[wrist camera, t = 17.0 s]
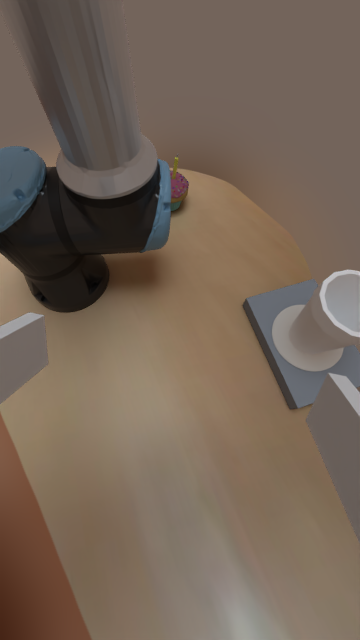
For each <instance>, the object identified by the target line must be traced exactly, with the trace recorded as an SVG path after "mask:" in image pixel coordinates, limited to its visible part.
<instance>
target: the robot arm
mask: <svg viewBox="0 0 360 640" xmlns="http://www.w3.org/2000/svg"><path fill="white" fill-rule="evenodd" d="M0 12H1V14H2V17H3V19H4V21H5V24H6V26H7V28H8V30H9V33H10V34H11V37H12V39H13V41H14V44H15V46H16V48H17V50H18V53H19V55H20V57H21V59H22V61H23V64H24V66H25V68H26V71H27V73H28V75H29V77H30V79H31V82H32V84H33V86H34V88H35V91H36V93H37V95H38V97H39V100H40V102H41V104H42V106H43V109H44V111H45V113H46V115H47V117H48V120H49V122H50V124H51V126H52V129H53V131H54V133H55V135H56V137H57V140H58V142H59V144H60V147H61V151H60V153H59V155H58V158H57V162H56V167H46V164H45V162H44V161H43V159H42V158H41V157H39V156H38V154H37V153H36V152H34V151H32V150H30V149H29V148H26V147H21V146H10V147H5V148H1V149H0V253H1V254H2V255H4V256H5V257H6V258H7V259H8V260H9V261H10V262H11V263H12V264H14V265H15V266H16V267H17V268H18V269H19V270H20V271H21V272H22V273H23V274H24V276H25V279H26V281H27V283H28V286H29V288H30V291H31V293H32V294H33V296H34V297H35V298H36V299H37V300H38V301H39V302H40V303H42V304H43V305H44V306H45V307H47V308H49V309H51V310H54V311H58V312H73V311H78V310H81V309H83V308H86V307H88V306H89V305H91V304H92V303H94V302H95V301H96V300H97V299H98V298H99V297H100V296H101V295H102V294H103V292H104V291H105V289H106V287H107V284H108V281H109V270H108V266H107V264H106V262H105V260H104V258H103V256H102V255H101V254H117V253H135V252H140V253H143V252H145V251H149V250H156V249H160V248H162V247H163V246H164V245H165V244H166V242H167V240H168V236H169V230H170V217H171V209H170V205H171V178H170V170H169V166H168V163H167V162H166V161H162V160H160V159H157V152H156V150H155V147H154V145H153V144H152V142H151V141H150V140H149V139H148V138H147V137H146V136H144V135H143V134H141V129H140V122H139V115H138V108H137V101H136V93H135V86H134V79H133V72H132V66H131V57H130V50H129V43H128V36H127V29H126V21H125V15H124V7H123V0H0ZM46 365H48V355H47V343H46V330H45V318H44V315H40V314H35V313H30V312H29V313H27V314H25V315H23V316H21V317H18V318H16V319H14V320H12V321H10V322H8V323H6V324H4V325H2V326H0V404H1V403H2V402H3V401H5V400H6V399H7V398H8V397H9V396H11V395H12V394H13V393H14V392H15V391H17V390H18V389H19V388H20V387H21V386H22V385H24V384H25V383H26V382H27V381H28V380H30V379H31V378H32V377H33V376H34V375H36V374H37V373H38V372H39V371H40V370H42V369H43V368H44V367H45V366H46ZM306 422H307V424H308V427H309V429H310V431H311V433H312V436H313V438H314V440H315V443H316V445H317V447H318V449H319V452H320V454H321V456H322V459H323V461H324V463H325V465H326V468H327V470H328V472H329V475H330V477H331V479H332V481H333V484H334V486H335V488H336V491H337V493H338V495H339V497H340V500H341V502H342V504H343V506H344V509H345V511H346V513H347V516H348V518H349V520H350V522H351V525H352V527H353V529H354V532H355V534H356V536H357V538H358V541H359V543H360V393H359V391H358V390H357V389H356V388H355V386H354V385H353V384H352V383H351V382H350V380H349V379H348V378H347V377H346V376H342V375H337V374H332V373H328V374H327V376H326V378H325V380H324V382H323V384H322V387H321V389H320V391H319V393H318V395H317V397H316V399H315V401H314V404H313V406H312V408H311V410H310V412H309V414H308V416H307V418H306Z"/></svg>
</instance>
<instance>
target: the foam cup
mask: <svg viewBox="0 0 360 640" xmlns="http://www.w3.org/2000/svg"><path fill="white" fill-rule="evenodd" d="M289 337H290V341H291V342H292V344H293V345H294V347H295V348H296V349H298V350H299V351H301V352H302V353H305V354H310V355H313V354H317V353H322V352H326V351H330V350H335V349H339V348H343V347H347V346H351V345H360V271H354V270H345V271H339V272H335V273H333V274H332V275H331V276H329V277H328V278H327V279H326V280H324V281H323V282H322V283H321V284H320V285H319V286H318V287H317V288H316V289H315V290H314V292H313V295H312V297H311V298H310V300H309V301H308V302H307V304H306V305H305V307H304V308H303V310H302V311H301V312H300V314H299V315H298V317H297V318H296V319H295V321H294V322H293V324H292V325H291V328H290V331H289Z"/></svg>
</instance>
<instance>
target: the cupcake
mask: <svg viewBox="0 0 360 640" xmlns="http://www.w3.org/2000/svg"><path fill="white" fill-rule="evenodd" d="M177 164H178V155H177V157H175V162H174V169H173V171H170V178H171V205H170V209H171V211H174V210H176V209H177V208H179V206H180V203H181V201H182V200H183V199H184V198H185V197H186V196H187V193H188V186H189V182H188V181H187V179H185V177H184V176H182V174H180V173H178V172H176V170H177Z"/></svg>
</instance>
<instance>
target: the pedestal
mask: <svg viewBox="0 0 360 640" xmlns="http://www.w3.org/2000/svg"><path fill="white" fill-rule="evenodd" d="M317 287H318V284H317V283H316V281H315V280H314V279H312V280H308V281H305V282H301V283H298V284H294V285H291V286H287V287H284V288H280V289H277V290H273V291H270V292H266V293H263V294H259V295H256V296H253V297H249V298H246V300H245V302H244V304H243V308H244V310H245V312H246V314H247V316H248V319H249V321H250V323H251V325H252V327H253V330H254V332H255V334H256V336H257V338H258V340H259V343H260V345H261V347H262V349H263V351H264V354H265V356H266V358H267V360H268V362H269V364H270V367H271V369H272V371H273V373H274V375H275V378H276V380H277V382H278V384H279V386H280V389H281V391H282V393H283V395H284V397H285V399H286V402H287V404H288V406H289V408H290V409H297V408H301V407H303V406H306V405H309V404H312V403H314V401H315V399H316V397H317V395H318V393H319V391H320V389H321V387H322V384H323V382H324V380H325V378H326V376H327V374H328V373H332V374H337V375H342V376H346V377H347V378H348V379H349V380H350V382H351V383H352V384H353V385H354V386H355V388H357V387H360V353H359V352H358V350H357V348H356V347H355V345H351V346H347V347H343V348H339V349H335V350H330V351H326V352H322V353H317V354H313V355H310V354H305V353H302V352H301V351H299V350H298V349H296V348H295V347H294V345H293V344H292V342H291V341H290V337H289V331H290V328H291V325H292V324H293V322H294V321H295V319H296V318H297V317H298V315H299V314H300V312H301V311H302V310H303V308H304V307H305V305H306V304H307V302H308V301H309V300H310V298H311V297H312V295H313V292H314V290H315V289H316V288H317Z"/></svg>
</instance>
